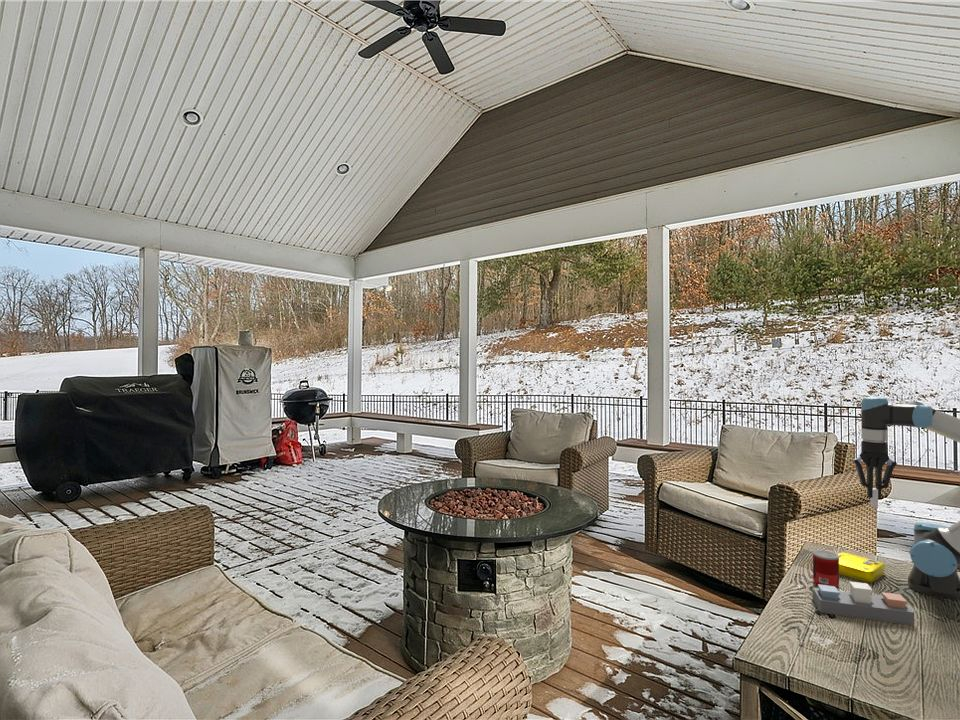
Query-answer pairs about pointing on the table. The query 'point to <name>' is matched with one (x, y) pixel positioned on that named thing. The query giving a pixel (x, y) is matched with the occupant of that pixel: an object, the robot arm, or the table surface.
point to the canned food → (826, 568)
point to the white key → (860, 592)
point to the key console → (863, 608)
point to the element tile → (860, 567)
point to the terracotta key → (894, 600)
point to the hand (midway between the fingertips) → (874, 506)
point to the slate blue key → (828, 592)
